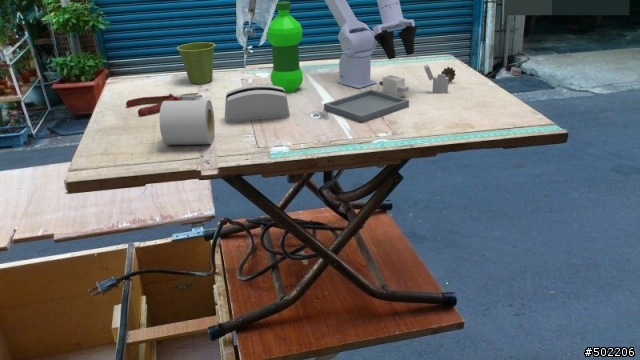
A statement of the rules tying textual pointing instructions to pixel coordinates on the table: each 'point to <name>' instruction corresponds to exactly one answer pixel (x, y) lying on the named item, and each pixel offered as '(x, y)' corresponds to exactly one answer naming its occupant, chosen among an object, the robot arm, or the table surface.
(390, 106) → the tray
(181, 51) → the plant pot
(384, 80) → the plug
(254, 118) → the grey napkin holder
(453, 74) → the gear
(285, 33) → the plastic bottle
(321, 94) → the table surface
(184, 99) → the pliers
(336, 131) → the table surface
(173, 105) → the toilet paper
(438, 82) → the lighter
